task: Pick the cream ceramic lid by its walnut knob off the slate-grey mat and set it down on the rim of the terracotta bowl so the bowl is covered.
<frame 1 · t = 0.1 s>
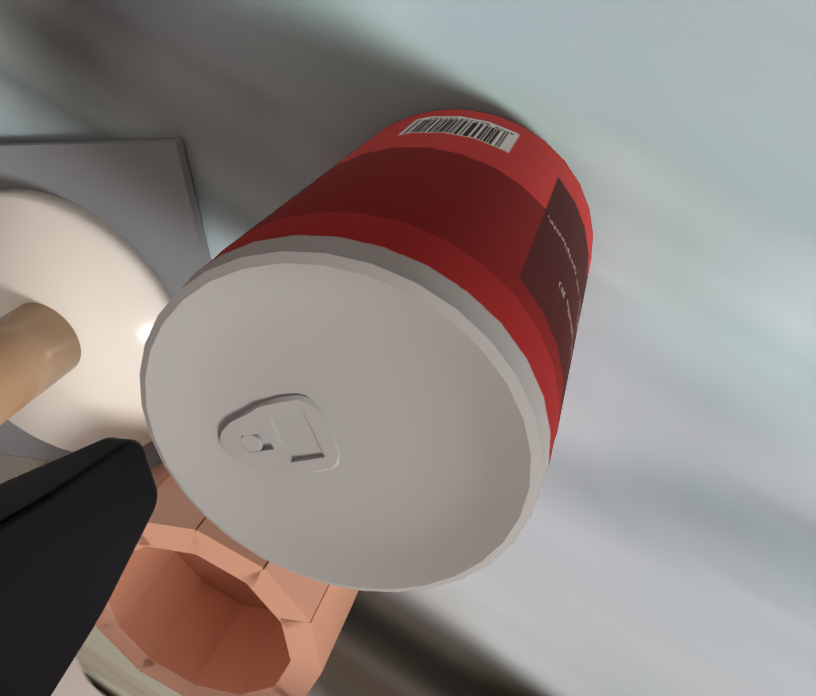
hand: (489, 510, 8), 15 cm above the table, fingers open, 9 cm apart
lid: (63, 326, 29), resting on mat
bowl: (255, 533, 32), on the table
mat: (70, 321, 29), on the table
canned food: (463, 228, 23), on the table
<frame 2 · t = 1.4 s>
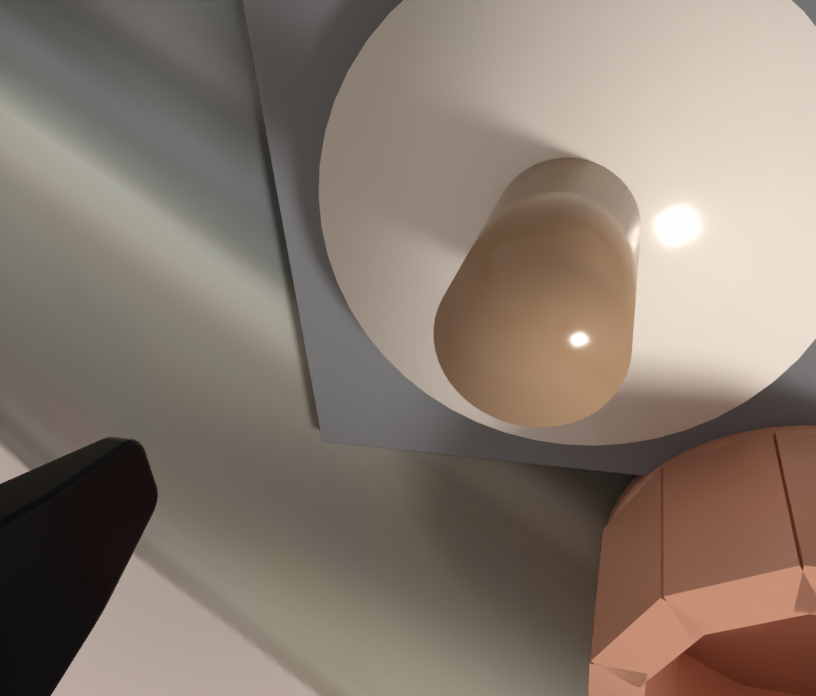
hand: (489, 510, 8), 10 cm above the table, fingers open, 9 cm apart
lid: (570, 213, 16), resting on mat
bowl: (797, 572, 20), on the table
mat: (572, 207, 17), on the table
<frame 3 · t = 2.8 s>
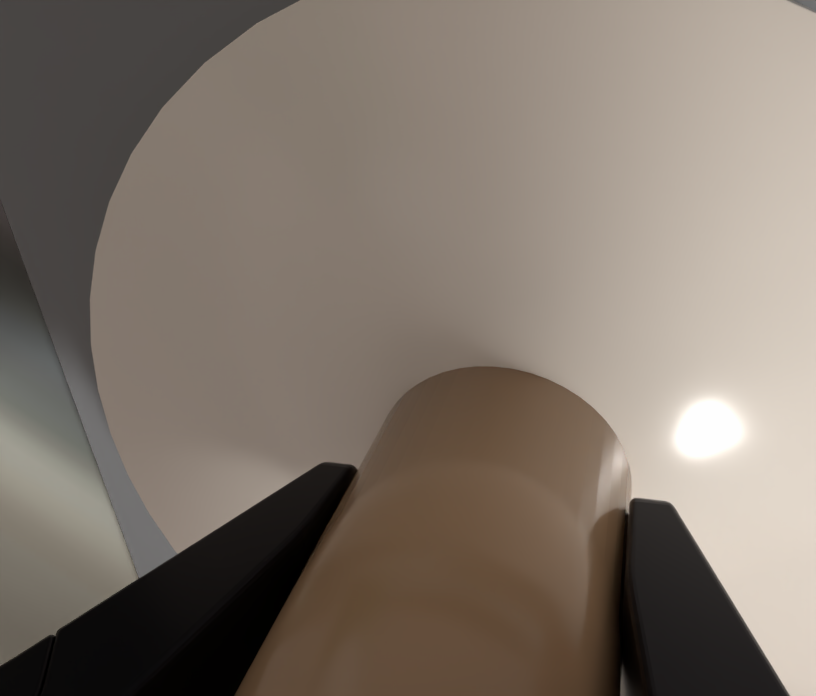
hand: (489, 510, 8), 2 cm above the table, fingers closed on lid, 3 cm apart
lid: (513, 427, 10), resting on mat, touching gripper
mat: (517, 409, 10), on the table
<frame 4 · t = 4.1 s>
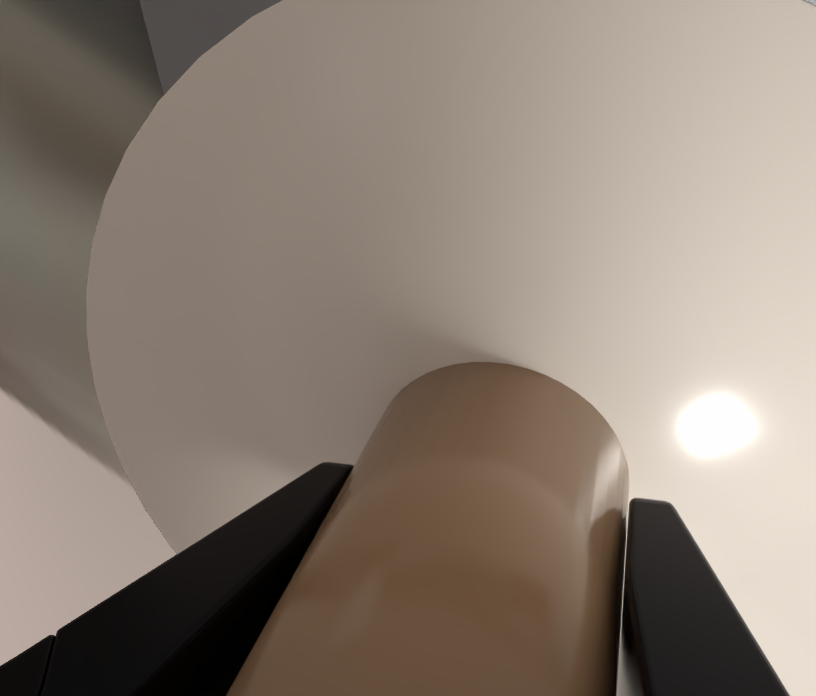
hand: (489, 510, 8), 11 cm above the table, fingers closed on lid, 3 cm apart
lid: (511, 423, 10), point 10 cm above the table, touching gripper
when the fingers open (8 cm above the table, at t = 5.3 s): lid drops 2 cm, resting on bowl.
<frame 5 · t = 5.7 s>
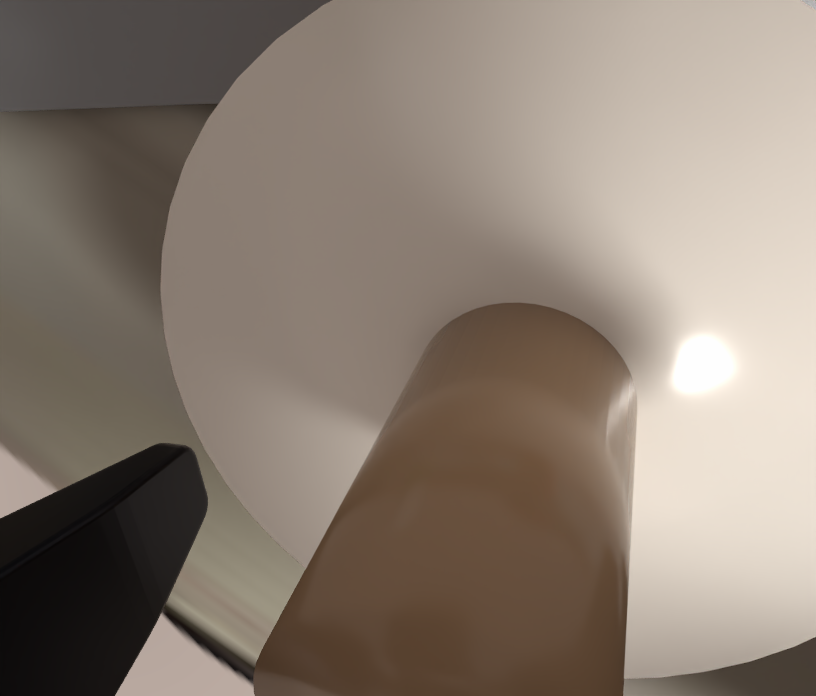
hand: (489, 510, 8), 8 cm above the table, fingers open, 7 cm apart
lid: (532, 364, 11), point 5 cm above the table, touching bowl
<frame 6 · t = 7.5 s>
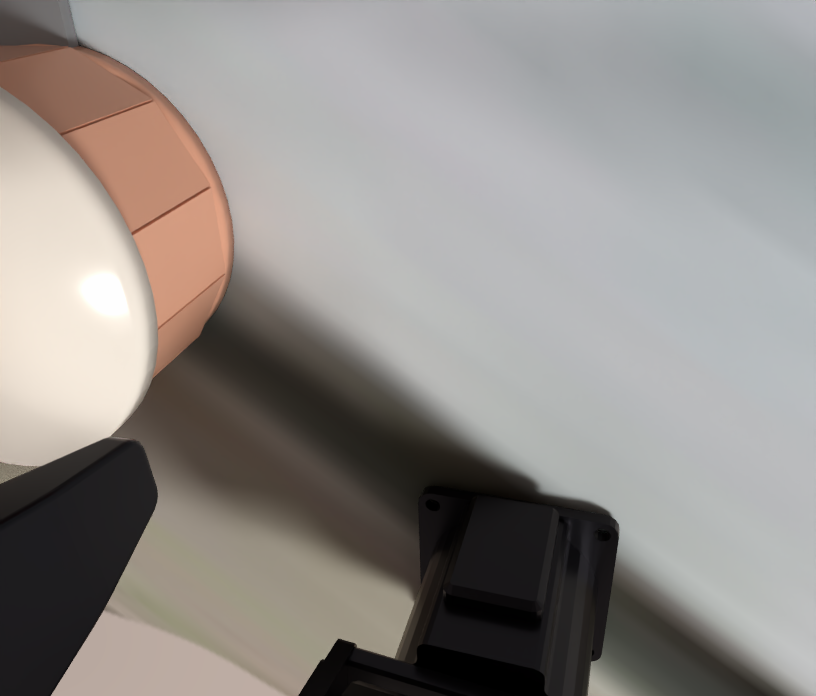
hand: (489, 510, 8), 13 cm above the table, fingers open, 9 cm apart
bowl: (91, 210, 24), on the table
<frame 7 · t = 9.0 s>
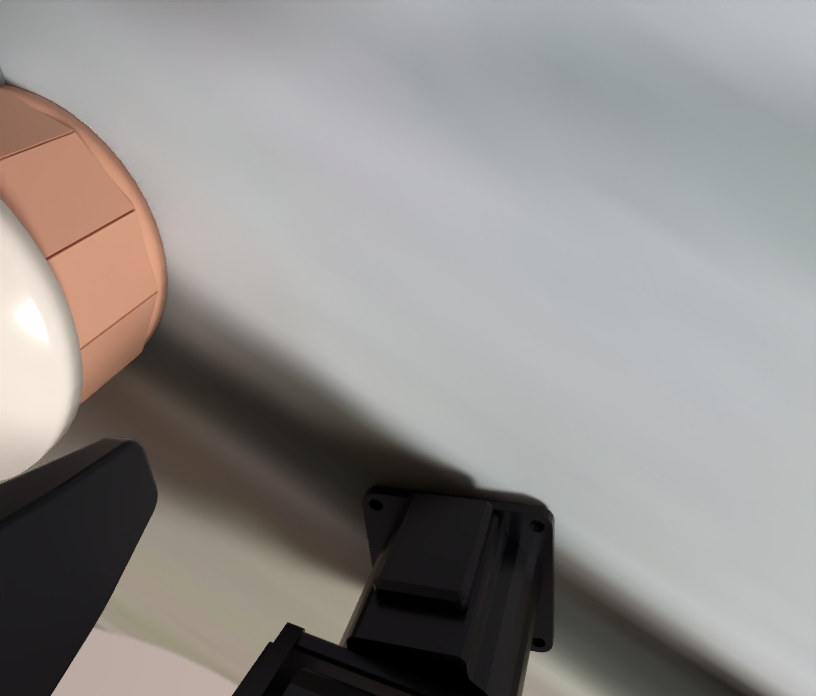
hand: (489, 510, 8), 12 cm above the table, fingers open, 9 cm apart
bowl: (33, 238, 25), on the table
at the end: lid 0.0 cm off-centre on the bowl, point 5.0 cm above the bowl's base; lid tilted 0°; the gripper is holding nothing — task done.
